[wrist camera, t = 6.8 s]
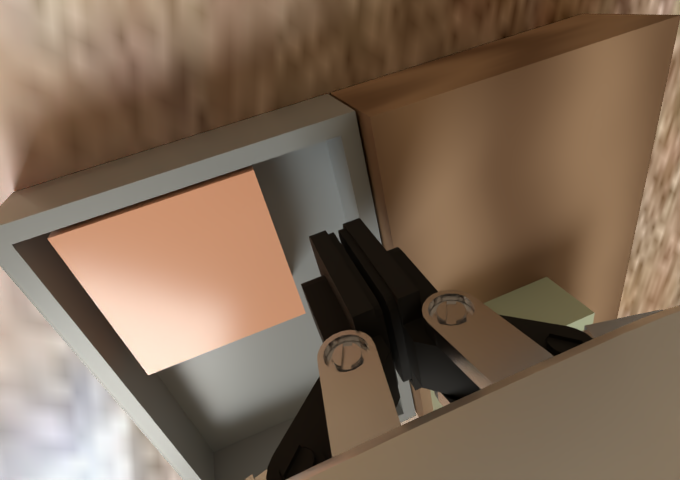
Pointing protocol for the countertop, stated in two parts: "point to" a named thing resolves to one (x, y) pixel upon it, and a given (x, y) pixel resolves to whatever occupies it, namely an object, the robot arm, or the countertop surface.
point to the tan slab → (520, 157)
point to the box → (234, 358)
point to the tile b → (539, 308)
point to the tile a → (184, 269)
